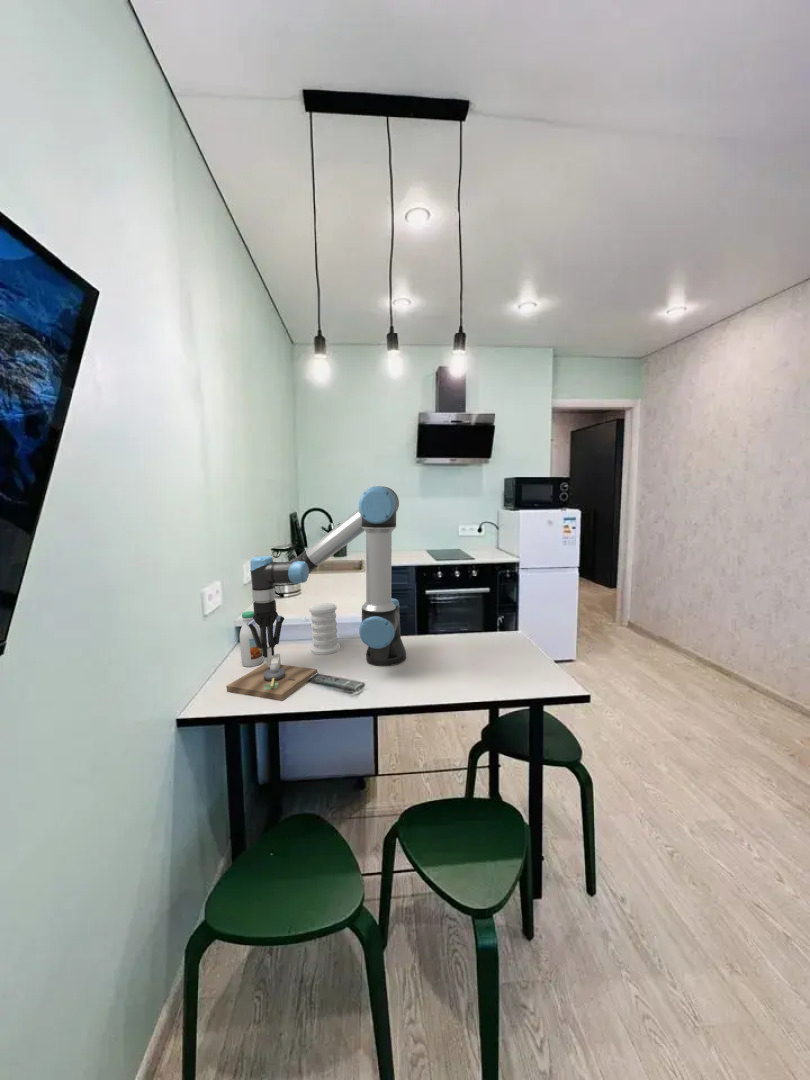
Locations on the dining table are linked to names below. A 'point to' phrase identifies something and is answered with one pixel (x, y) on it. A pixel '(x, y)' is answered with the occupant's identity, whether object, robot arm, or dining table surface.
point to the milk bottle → (249, 643)
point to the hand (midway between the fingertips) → (269, 665)
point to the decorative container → (324, 629)
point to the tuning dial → (274, 670)
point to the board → (262, 688)
